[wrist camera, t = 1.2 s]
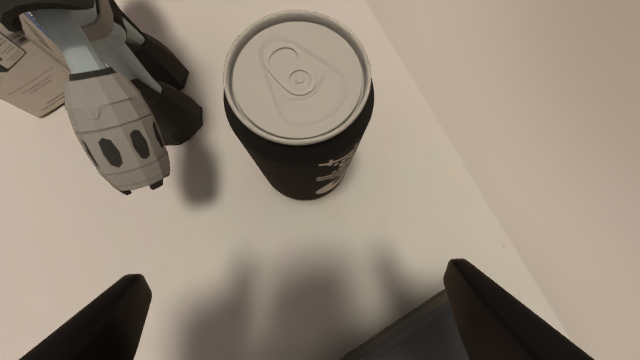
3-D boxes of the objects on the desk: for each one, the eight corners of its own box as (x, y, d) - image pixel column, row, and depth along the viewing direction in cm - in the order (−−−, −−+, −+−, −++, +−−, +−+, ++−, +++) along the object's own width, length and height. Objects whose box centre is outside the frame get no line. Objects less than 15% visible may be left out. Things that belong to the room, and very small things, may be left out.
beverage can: (296, 218, 22) (277, 190, 10) (246, 151, 23) (178, 56, 11) (363, 168, 23) (417, 89, 11) (313, 106, 24) (314, -27, 12)
